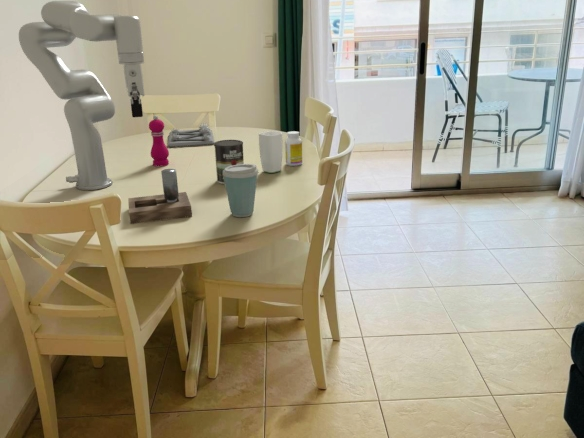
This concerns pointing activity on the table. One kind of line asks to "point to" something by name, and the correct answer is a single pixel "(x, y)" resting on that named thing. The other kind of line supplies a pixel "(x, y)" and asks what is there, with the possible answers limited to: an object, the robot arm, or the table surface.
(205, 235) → the table surface
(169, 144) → the grey piece
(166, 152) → the pepper mill
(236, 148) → the coffee can
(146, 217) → the keyhole plate
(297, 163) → the supplement bottle
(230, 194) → the disposable coffee cup
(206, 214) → the table surface
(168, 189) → the peg
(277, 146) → the cup
